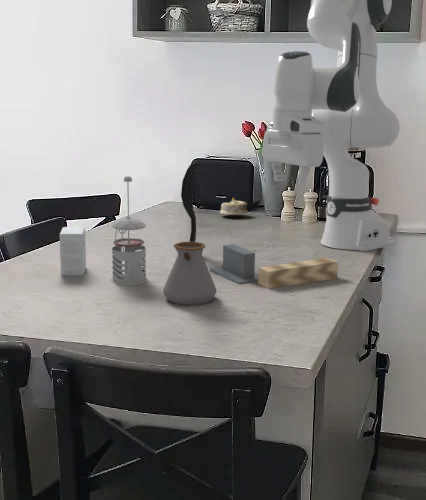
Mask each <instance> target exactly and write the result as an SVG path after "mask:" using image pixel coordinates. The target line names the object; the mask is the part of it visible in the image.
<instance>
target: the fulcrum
mask: <svg viewBox="0 0 426 500" xmlns="http://www.w3.org/2000/svg"><path fill="white" fill-rule="evenodd" d="M255 260H256V252H254V251H251V250H249V249H247V248H244V247H242V246H239V245H237V244H235V243H232V244H224V245H223V246H222V266H218V267H211V268H210V269H209V273H210V272H211V273H212V274H215V275H217V276H220V277H222V278H224V279H227V280H228V281H230V282H233V283H235V284H237V285H241V284H248V283H249V284H251V283H256V282H257V283H258V275H259V273H257V272H256V271H255V270H256V268H255V267H256V261H255Z"/></svg>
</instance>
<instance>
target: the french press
mask: <svg viewBox="0 0 426 500" xmlns="http://www.w3.org/2000/svg"><path fill="white" fill-rule="evenodd" d="M132 181H133V177H131V176H129V175H127V176H124V178H123V182H124V183H125V182H126V184H127V186H126V187H127V216H126V217H123V218H119V219H117V220H115V221H113V222H112V223H111V224H110V226H111V227H112V228H113V229H116V230H115V234H114V235H115V236H114V241H113V242H112V243H113V244H114V246H113V247H112V248H111V253H112V256H111V257H112V262H111V263H112V277H111V278H110V279H109V281H110V282H111V283H113V284H116V285H122V286H123V285H125V286H127V285H128V286H129V285H131V286H132V285H139V284H143V283H146V282H147V283H148V281H149V278H148V277H147V273H146V272H147V271H146V270H147V268H146V267H147V263H146V259H147V258H146V256H147V254H146V251H147V250H146V247H145V246H144V243H145V241H144V240H143V239H141V238H132V237H130V231H138V230H142V229H144V228H146V226H147V223H145V222H144V221H142V220H141V219H139V218H135V217H130V202H129V201H130V199H129V196H130V195H129V191H130V190H129V183H130V182H132ZM127 231H128V232H127ZM117 233H119V234H120V235H121V238H117ZM125 233H127V236H128V237H124V234H125ZM123 262H124V263H123Z"/></svg>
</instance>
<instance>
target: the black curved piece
mask: <svg viewBox="0 0 426 500" xmlns="http://www.w3.org/2000/svg"><path fill="white" fill-rule="evenodd" d="M198 167H200V164H199V163H197V161H196V162H195V161H193V162H191V164H190V165H189V166H188V168H187V170H186V172H185V174H184V176H183V179H182V182H181V191H180V192H181V193H180V199H181V201H182V207H184V210H185V211H186V213H187V215H188V216H189V218H190V236H189V240H188V242H196V238H197V216H196V212H195V209H197V207H195V206H196V203H194V200H195V201H196V197H197V196H195V195H196V194H197V193H195V192H196V190H195V189H197V187H194V186H195V185H196V184H197V183H198V182H196V181H194V180H198V179H197V177H195V175H196V176H197V172H199V169H197V168H198ZM196 170H197V171H196ZM193 191H194V192H193ZM193 195H194V198H193ZM194 205H195V206H194Z"/></svg>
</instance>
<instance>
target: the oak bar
mask: <svg viewBox="0 0 426 500" xmlns="http://www.w3.org/2000/svg"><path fill="white" fill-rule="evenodd" d="M338 271H339V261H338V260H336V259H332V258H330V257H324V258H323V257H322V258H317V259H309V260H302V261H297V262H289V263H288V262H287V263H280V264H275V265H268V266H267V265H265V266H261V267H260V266H259V267H258V274H259V275H258V282H257V284H258V286H261V287H264V288H266V289H271V288H278V287H287V286H294V285H301V284H302V285H303V284H307V283H315V282H321V281H326V280H327V281H328V280H334V279H338Z"/></svg>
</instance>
